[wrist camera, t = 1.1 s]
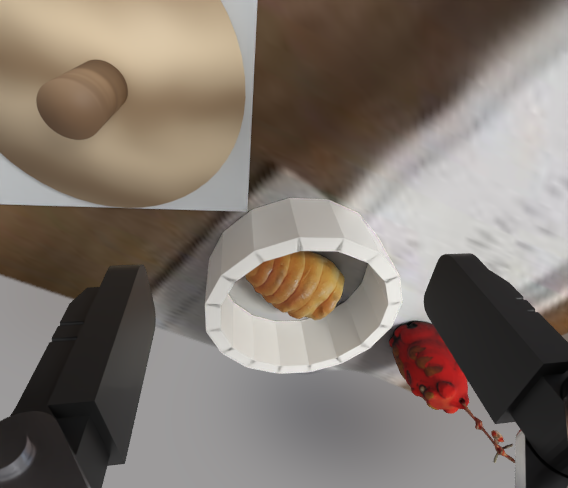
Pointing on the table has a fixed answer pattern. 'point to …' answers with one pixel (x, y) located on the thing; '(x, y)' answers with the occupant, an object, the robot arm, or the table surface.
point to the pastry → (299, 284)
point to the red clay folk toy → (434, 372)
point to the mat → (211, 196)
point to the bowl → (308, 333)
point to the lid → (119, 96)
